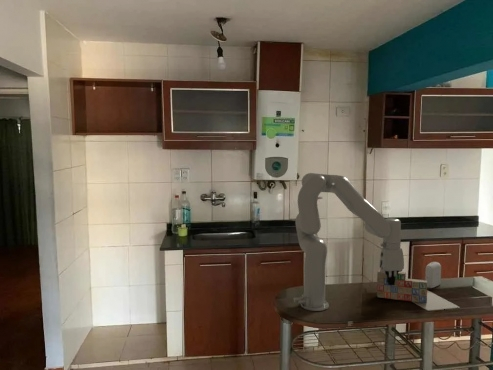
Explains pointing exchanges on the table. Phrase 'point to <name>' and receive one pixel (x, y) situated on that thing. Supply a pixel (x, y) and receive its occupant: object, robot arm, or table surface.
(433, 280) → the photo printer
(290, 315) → the table surface
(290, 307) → the table surface
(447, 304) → the mat
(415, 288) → the stack of blocks
